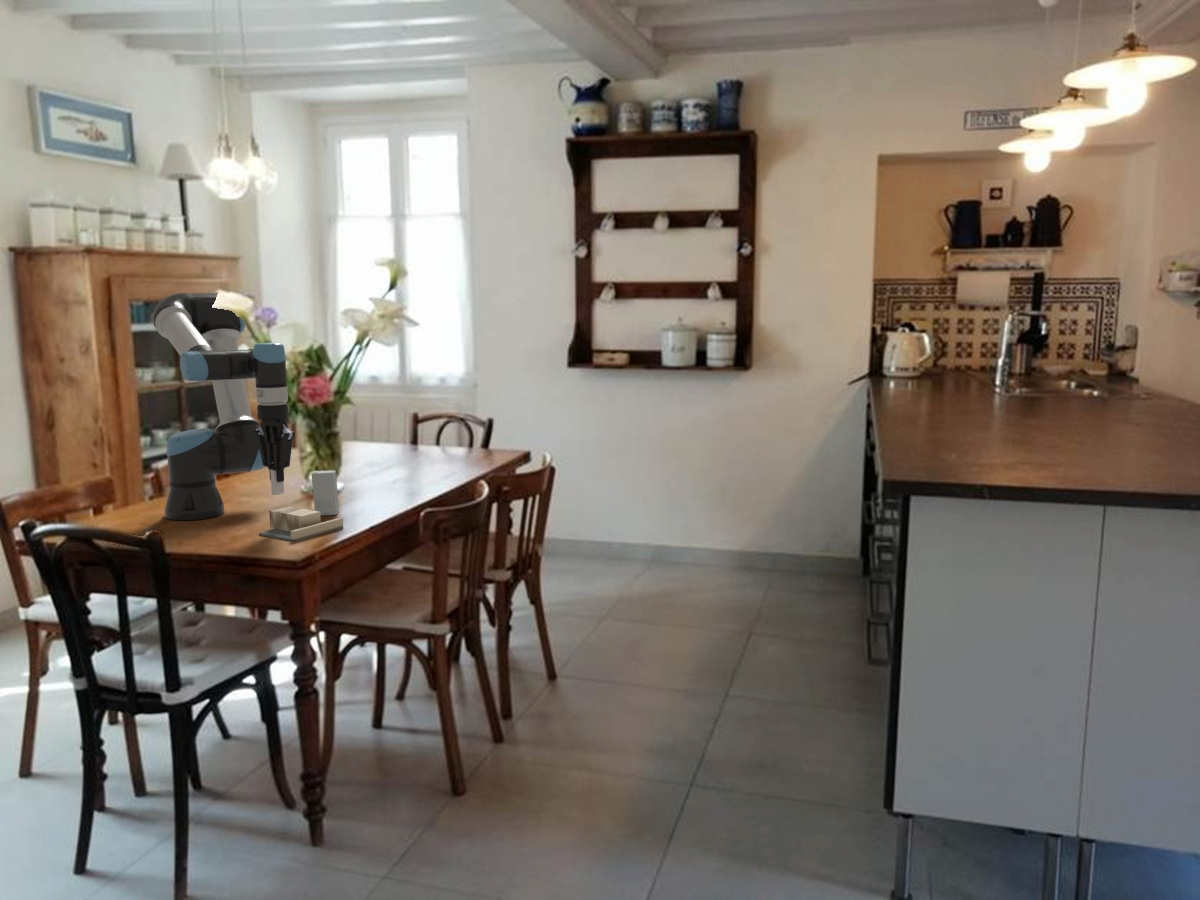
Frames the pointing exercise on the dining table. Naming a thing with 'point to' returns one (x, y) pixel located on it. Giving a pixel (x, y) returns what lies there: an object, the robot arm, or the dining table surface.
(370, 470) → the dining table surface
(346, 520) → the dining table surface
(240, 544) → the dining table surface
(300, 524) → the beech block
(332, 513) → the skincare box
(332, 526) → the slate mat
